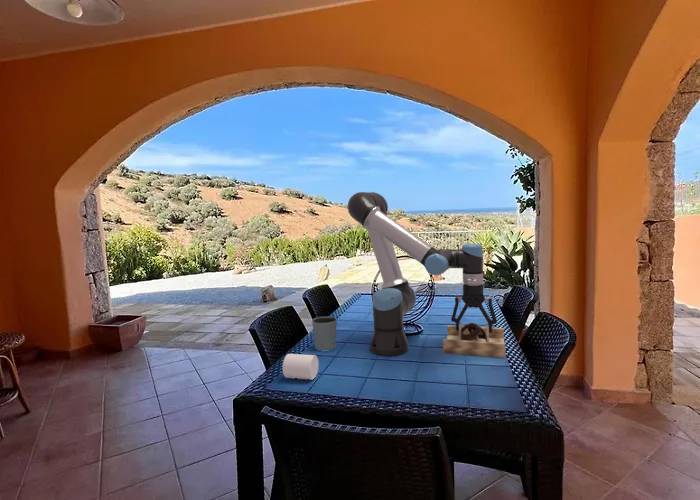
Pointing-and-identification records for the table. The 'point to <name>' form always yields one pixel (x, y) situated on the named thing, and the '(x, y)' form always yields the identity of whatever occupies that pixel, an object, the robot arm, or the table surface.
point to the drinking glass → (324, 332)
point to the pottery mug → (473, 332)
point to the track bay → (475, 343)
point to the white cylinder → (300, 366)
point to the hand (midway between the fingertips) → (474, 339)
